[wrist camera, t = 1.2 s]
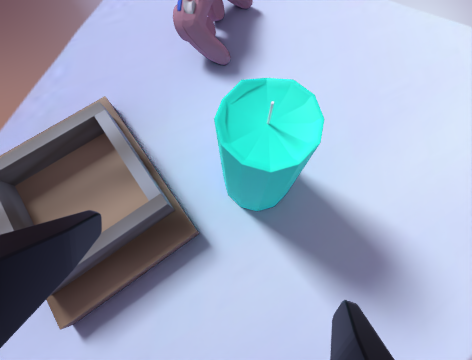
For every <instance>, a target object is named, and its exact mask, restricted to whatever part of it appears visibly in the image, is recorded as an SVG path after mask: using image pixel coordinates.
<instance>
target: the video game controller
mask: <svg viewBox="0 0 472 360" xmlns="http://www.w3.org/2000/svg"><path fill="white" fill-rule="evenodd" d="M228 1H229V2H231V3H232V4H234V5H236V6H238V7H240V8H244V9H248V8H249V7H251V5H252V0H228ZM207 16H208V17H207ZM223 17H224V5H223V1H222V0H178V4H177V5H176V6H175V8H174V11H173V21H174V26H175V29H176V31H177V32H178V34H179V36H180V37H181V38H182V39H183V40H185V41H188V42H189V43H190V44H191V45H192V46H193V47H194V48H195V49H196V50H198V51H199V52H200V53H201V54H202V55H204V56H205V57H206V58H208V59H209V60H211V61H213V62H215V63H218V64H222V65H226V64H228V63H229V62H230V54H229V52H228V50H227V49H226V47H225V46H224V45H223V44H222V43H221V42H220V41H219V40H218V39H217V38H216V37H215V34H216V31H215V26H214V23H213V22H214V21H219V20H221V19H223Z"/></svg>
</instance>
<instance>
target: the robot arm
mask: <svg viewBox="0 0 472 360" xmlns="http://www.w3.org/2000/svg"><path fill="white" fill-rule="evenodd" d="M101 232H102V216H101V214H100V213H98V212H96V211H93V210H87V211H83V212H80V213H76V214H72V215H69V216H65V217H62V218H58V219H55V220H51V221H47V222H44V223H40V224H37V225H33V226H29V227H26V228H22V229H19V230H15V231H11V232H8V233H4V234H1V235H0V348H1V347H2V346H3V345H4V344H5V343H6V342H7V341H8V339H9V338H10V337H11V336H12V335H13V334H14V333H15V332H16V331H17V330H18V329H19V328H20V327H21V326H22V325H23V324H24V322H25V321H26V320H27V319H28V318H29V317H30V316H31V315H32V314H33V313H34V312H35V311H36V310H37V309H38V308H39V306H40V305H41V304H42V303H43V302H44V301H45V300H46V299H47V298H48V297H49V296H50V295H51V294H52V293H53V292H54V290H55V289H56V288H57V287H58V286H59V285H60V284H61V283H62V282H63V281H64V280H65V279H66V278H67V277H68V276H69V274H70V273H71V272H72V271H73V270H74V269H75V267H76V266H77V265H78V264H79V262H80V261H81V260H82V259H83V257H84V256H85V255H86V253H87V252H88V251H89V249H90V248H91V247H92V246H93V244H94V243H95V242H96V240H97V239H98V238H99V236H100V235H101ZM330 360H394V358H393V357H392V355H391V354H390V352H389V351H388V349H387V348H386V346H385V345H384V343H383V342H382V340H381V339H380V337H379V336H378V334H377V333H376V331H375V330H374V328H373V327H372V325H371V324H370V322H369V321H368V320H367V318H366V317H365V315H364V314H363V312H362V311H361V309H360V308H359V306H358V305H357V304H356V303H353V302H350V301H347V300H344V301H342V303H341V304H340V306H339V307H338V309H337V311H336V312H335V314H334V316H333V320H332V336H331V357H330Z"/></svg>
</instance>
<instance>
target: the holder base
mask: <svg viewBox="0 0 472 360" xmlns="http://www.w3.org/2000/svg"><path fill="white" fill-rule="evenodd" d="M87 210H93V211H96V212H98V213H100V214H101V216H102V232H101V235H100V236H99V238H98V239H97V240H96V242H95V243H94V244H93V246H92V247H91V248H90V249H89V251H88V252H87V253H86V255H85V256H84V257H83V259H82V260H81V261H80V262H79V264H78V265H77V266H76V267H75V269H74V270H73V271H72V272H71V273H70V274H69V276H68V277H67V278H66V279H65V280H64V281H63V282H62V283H61V284H60V285H59V286H58V287H57V288H56V289H55V290H54V292H53V293H52V294H51V295H50V296H49V297H48V298H47V299H46V300H47V302H48V304H49V307H50V309H51V311H52V313H53V315H54V317H55V320H56V322H57V324H58V326H59V328H60V329H63V328H66V327H69V326H71V325H73V324H75V323H76V322H77V321H79V320H80V319H82V318H83V317H84V316H86V315H87V314H89V313H90V312H91V311H93V310H94V309H95V308H97V307H98V306H100V305H101V304H102V303H104V302H105V301H107V300H108V299H109V298H111V297H112V296H114V295H115V294H116V293H118V292H119V291H120V290H122V289H123V288H125V287H126V286H127V285H129V284H130V283H132V282H133V281H134V280H136V279H137V278H138V277H140V276H141V275H143V274H144V273H145V272H147V271H148V270H150V269H151V268H152V267H154V266H155V265H156V264H158V263H159V262H161V261H162V260H163V259H165V258H166V257H168V256H169V255H170V254H172V253H173V252H174V251H176V250H177V249H179V248H180V247H181V246H183V245H184V244H186V243H187V242H188V241H190V240H191V239H192V238H194V237H195V236H197V235H198V234H199V232H198V231H197V229H196V228H195V226H194V225H193V223H192V222H191V220H190V219H189V217H188V216H187V214H186V213H185V212H184V210H183V209H182V207H181V206H180V204H179V203H178V201H177V200H176V198H175V197H174V195H173V194H172V192H171V191H170V190H169V188H168V187H167V185H166V184H165V182H164V181H163V179H162V178H161V176H160V175H159V173H158V172H157V170H156V169H155V167H154V166H153V165H152V163H151V162H150V160H149V159H148V157H147V156H146V154H145V153H144V151H143V150H142V148H141V147H140V145H139V144H138V142H137V141H136V140H135V138H134V137H133V135H132V134H131V132H130V131H129V129H128V128H127V126H126V125H125V123H124V122H123V120H122V119H121V117H120V116H119V115H118V113H117V112H116V110H115V109H114V107H113V106H112V104H111V103H110V102H109V101H108V99H107V98H106V97H105V96H104V97H103V98H101V99H99V100H97V101H96V102H94V103H92V104H90V105H89V106H87V107H85V108H83V109H82V110H80V111H78V112H76V113H75V114H73V115H71V116H69V117H68V118H66V119H64V120H62V121H60V122H59V123H57V124H55V125H53V126H52V127H50V128H48V129H46V130H45V131H43V132H41V133H39V134H38V135H36V136H34V137H32V138H31V139H29V140H27V141H25V142H24V143H22V144H20V145H18V146H16V147H15V148H13V149H11V150H9V151H8V152H6V153H4V154H2V155H1V156H0V235H1V234H4V233H8V232H11V231H15V230H19V229H22V228H26V227H29V226H33V225H37V224H40V223H44V222H47V221H51V220H55V219H58V218H62V217H65V216H69V215H72V214H76V213H80V212H83V211H87Z"/></svg>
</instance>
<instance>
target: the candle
mask: <svg viewBox="0 0 472 360" xmlns="http://www.w3.org/2000/svg"><path fill="white" fill-rule="evenodd" d="M214 121H215V127H216V133H217V139H218V146H219V152H220V158H221V164H222V170H223V176H224V181H225V185H226V189H227V192H228V195H229V196H230V197H231V198H232V199H233V200H234V201H235V202H236V203H237V204H238V205H239V206H240V207H243V208H247V209H250V210H254V211H260V210H264V209H268V208H271V207H274V206H275V205H276V204H277V203H278V202H279V201H280V200H281V199H282V198H283V197H284V196H285V195H286V194H287V192H288V191H289V189H290V188H291V186H292V185H293V183H294V182H295V180H296V179H297V177H298V176H299V174H300V173H301V171H302V170H303V168H304V167H305V165H306V164H307V162H308V161H309V159H310V158H311V156H312V154H313V153H314V151H315V150H316V148H317V147H318V145H319V144H320V142H321V136H322V130H323V124H324V117H323V115H322V112H321V110H320V107H319V105H318V102H317V100H316V97H315V95H314V94H313V93H311V92H310V91H309V90H307V89H306V88H304V87H303V86H302V85H300V84H299V83H297V82H296V81H295V80H291V79H275V78H260V79H247V80H241V81H240V82H239V83H238V84H237V85H236V86H235V87H234V88H233V89H232V90H231V91H230V92H229V93H228V94H227V95H226V96H225V97H224V98H223V99H222V101H221V104H220V106H219V108H218V111H217V113H216V116H215V118H214Z"/></svg>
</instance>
